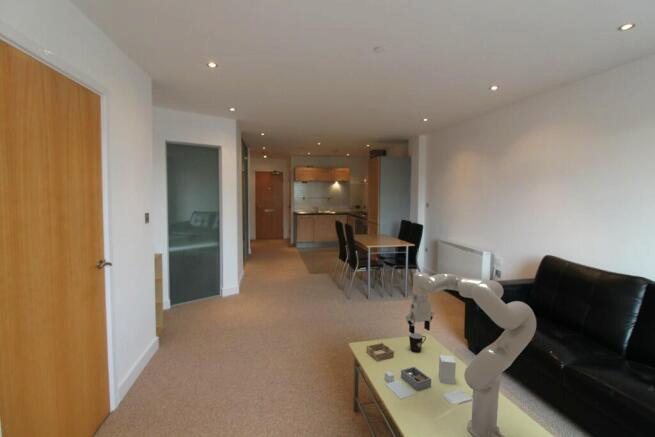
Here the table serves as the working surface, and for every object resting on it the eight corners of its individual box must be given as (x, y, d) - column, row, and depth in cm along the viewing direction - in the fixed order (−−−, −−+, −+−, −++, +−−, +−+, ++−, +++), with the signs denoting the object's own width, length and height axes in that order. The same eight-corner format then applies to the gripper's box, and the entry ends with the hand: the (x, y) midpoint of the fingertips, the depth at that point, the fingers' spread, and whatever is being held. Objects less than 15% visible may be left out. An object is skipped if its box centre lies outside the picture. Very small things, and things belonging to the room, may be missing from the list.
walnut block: (425, 385, 162) (425, 378, 162) (420, 388, 160) (420, 381, 160) (419, 382, 166) (419, 374, 165) (414, 384, 163) (414, 377, 163)
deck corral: (393, 357, 193) (393, 351, 192) (377, 361, 188) (377, 355, 187) (382, 348, 204) (382, 342, 203) (366, 352, 199) (366, 346, 198)
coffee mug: (410, 353, 198) (410, 338, 197) (407, 347, 207) (407, 332, 206) (428, 354, 198) (429, 338, 197) (424, 347, 206) (425, 332, 206)
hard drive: (459, 389, 160) (440, 393, 155) (472, 398, 152) (452, 404, 148) (459, 392, 160) (440, 397, 156) (472, 401, 152) (452, 407, 148)
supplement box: (455, 386, 164) (456, 362, 163) (440, 384, 166) (441, 361, 165) (452, 378, 171) (453, 356, 171) (438, 376, 173) (439, 354, 172)
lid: (415, 396, 155) (415, 387, 155) (400, 401, 151) (400, 392, 151) (393, 377, 171) (393, 369, 170) (380, 381, 167) (380, 373, 167)
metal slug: (413, 379, 168) (414, 373, 168) (409, 381, 167) (409, 374, 166) (410, 376, 170) (410, 370, 170) (405, 378, 169) (405, 371, 169)
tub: (430, 388, 162) (431, 378, 162) (417, 392, 158) (417, 383, 158) (413, 375, 174) (414, 366, 173) (400, 378, 170) (401, 370, 169)
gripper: (411, 302, 147) (410, 337, 148) (439, 297, 154) (438, 331, 156) (401, 297, 154) (400, 331, 155) (428, 293, 161) (427, 325, 162)
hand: (419, 331), depth 155 cm, fingers open, 9 cm apart
